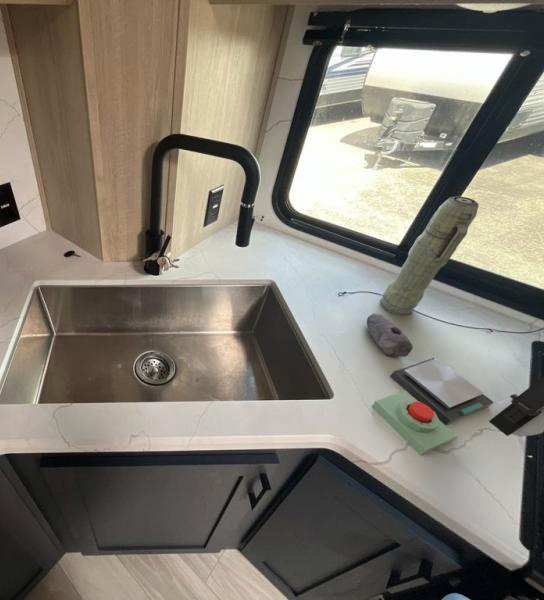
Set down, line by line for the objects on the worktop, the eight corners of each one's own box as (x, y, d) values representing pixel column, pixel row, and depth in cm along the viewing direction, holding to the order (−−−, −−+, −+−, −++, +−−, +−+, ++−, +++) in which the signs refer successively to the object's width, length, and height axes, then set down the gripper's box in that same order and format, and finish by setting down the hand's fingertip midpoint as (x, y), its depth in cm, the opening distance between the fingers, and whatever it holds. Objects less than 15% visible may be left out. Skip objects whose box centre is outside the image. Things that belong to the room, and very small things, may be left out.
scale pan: (481, 395, 74) (484, 393, 73) (448, 409, 71) (450, 407, 71) (434, 360, 82) (436, 358, 81) (402, 371, 79) (404, 369, 79)
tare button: (434, 419, 68) (438, 415, 67) (420, 425, 67) (425, 420, 66) (416, 403, 71) (420, 399, 70) (402, 409, 70) (407, 404, 69)
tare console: (451, 441, 68) (463, 431, 66) (420, 455, 66) (431, 446, 63) (400, 395, 77) (408, 385, 74) (371, 406, 75) (379, 396, 72)
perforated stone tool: (357, 323, 96) (367, 305, 92) (374, 323, 96) (385, 305, 92) (385, 362, 85) (398, 344, 80) (405, 362, 85) (419, 344, 80)
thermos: (391, 318, 98) (464, 209, 76) (371, 294, 107) (431, 191, 85) (421, 319, 98) (502, 210, 76) (398, 295, 107) (465, 191, 85)
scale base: (488, 407, 75) (496, 400, 73) (445, 425, 71) (452, 419, 69) (429, 362, 85) (435, 355, 83) (389, 376, 81) (394, 370, 80)
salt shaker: (477, 408, 56) (535, 360, 48) (511, 409, 56) (575, 361, 48) (505, 441, 52) (574, 394, 43) (542, 442, 51) (619, 395, 43)
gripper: (651, 286, 43) (523, 387, 58) (563, 317, 39) (449, 419, 54) (744, 322, 38) (577, 424, 53) (655, 364, 33) (499, 462, 48)
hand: (512, 421), depth 53 cm, fingers closed on salt shaker, 6 cm apart
